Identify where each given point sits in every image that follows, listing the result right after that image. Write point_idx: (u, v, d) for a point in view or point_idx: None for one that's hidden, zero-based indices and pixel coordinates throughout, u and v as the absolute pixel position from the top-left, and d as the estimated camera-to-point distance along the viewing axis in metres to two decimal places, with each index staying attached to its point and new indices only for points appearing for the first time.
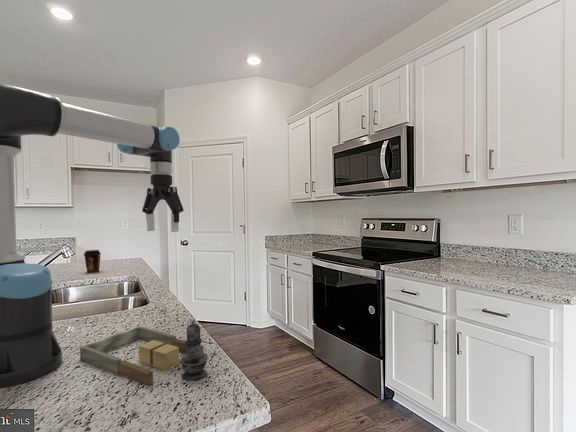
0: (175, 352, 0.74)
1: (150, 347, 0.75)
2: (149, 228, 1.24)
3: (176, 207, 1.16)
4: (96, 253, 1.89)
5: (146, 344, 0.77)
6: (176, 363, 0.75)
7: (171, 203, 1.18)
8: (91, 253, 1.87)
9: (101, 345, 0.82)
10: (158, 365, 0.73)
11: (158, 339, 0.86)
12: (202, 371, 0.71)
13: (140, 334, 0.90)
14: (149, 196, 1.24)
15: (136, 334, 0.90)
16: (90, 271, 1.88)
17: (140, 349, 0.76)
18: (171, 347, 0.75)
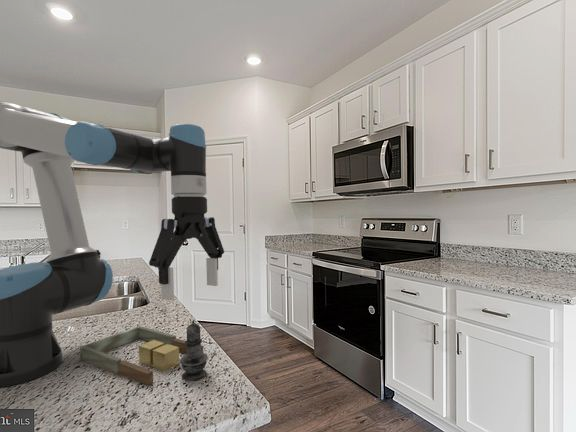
0: (175, 352, 0.74)
1: (150, 347, 0.75)
2: (208, 281, 0.78)
3: None
4: None
5: (146, 344, 0.77)
6: (176, 363, 0.75)
7: (167, 248, 0.67)
8: None
9: (101, 345, 0.82)
10: (158, 365, 0.73)
11: (158, 339, 0.86)
12: (202, 371, 0.71)
13: (140, 334, 0.90)
14: (206, 230, 0.78)
15: (136, 334, 0.90)
16: None
17: (140, 349, 0.76)
18: (171, 347, 0.75)
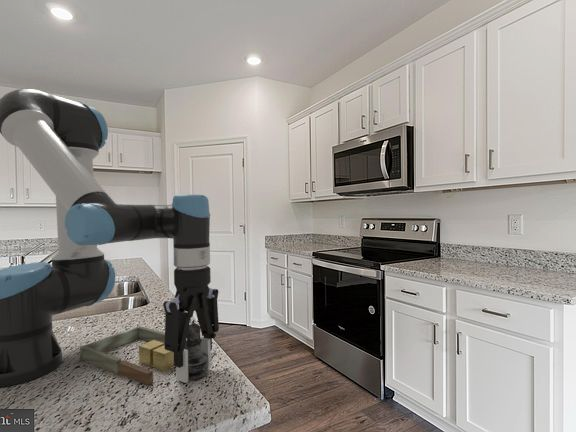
0: None
1: (150, 347, 0.75)
2: None
3: None
4: None
5: (146, 344, 0.77)
6: None
7: (177, 329, 0.67)
8: None
9: (101, 345, 0.82)
10: (158, 365, 0.73)
11: (158, 339, 0.86)
12: (202, 371, 0.71)
13: (140, 334, 0.90)
14: (207, 302, 0.75)
15: (136, 334, 0.90)
16: None
17: (140, 349, 0.76)
18: None
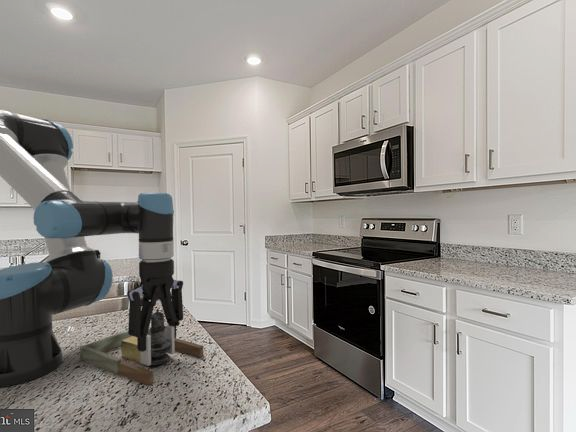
0: None
1: (132, 341, 0.79)
2: None
3: None
4: (96, 253, 1.89)
5: (128, 339, 0.80)
6: None
7: (141, 316, 0.73)
8: None
9: (101, 345, 0.82)
10: (137, 357, 0.77)
11: None
12: (166, 356, 0.77)
13: None
14: (172, 292, 0.80)
15: None
16: None
17: (122, 343, 0.79)
18: None
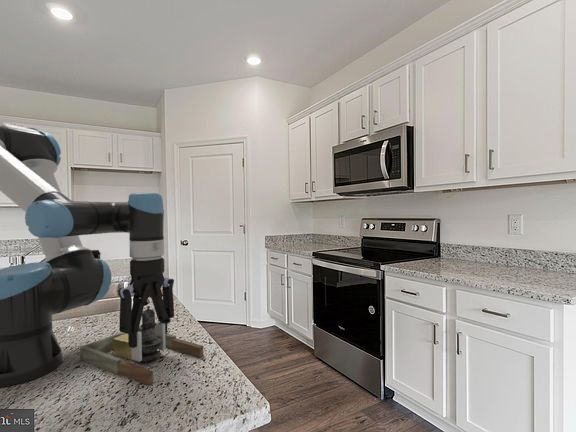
0: None
1: (123, 339, 0.80)
2: None
3: None
4: (96, 253, 1.89)
5: (120, 337, 0.81)
6: None
7: (132, 313, 0.74)
8: None
9: (101, 345, 0.82)
10: (128, 354, 0.78)
11: None
12: (156, 352, 0.78)
13: None
14: (163, 290, 0.82)
15: None
16: None
17: (114, 341, 0.81)
18: None
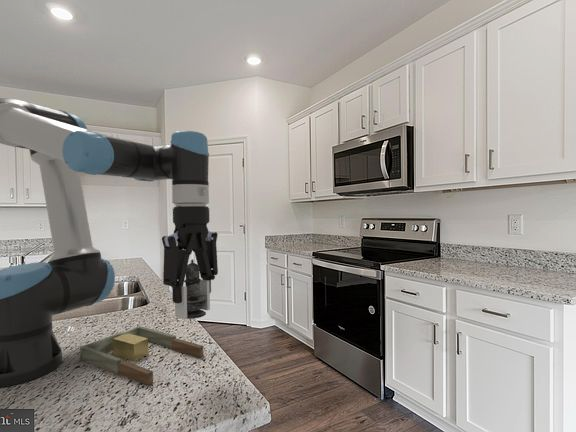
0: (144, 343, 0.80)
1: (123, 339, 0.80)
2: None
3: None
4: None
5: (120, 337, 0.82)
6: (145, 353, 0.80)
7: (176, 265, 0.67)
8: None
9: (101, 345, 0.82)
10: (128, 355, 0.78)
11: (158, 339, 0.86)
12: (201, 311, 0.70)
13: (140, 334, 0.90)
14: (206, 245, 0.74)
15: (136, 334, 0.90)
16: None
17: (114, 341, 0.81)
18: (141, 338, 0.81)
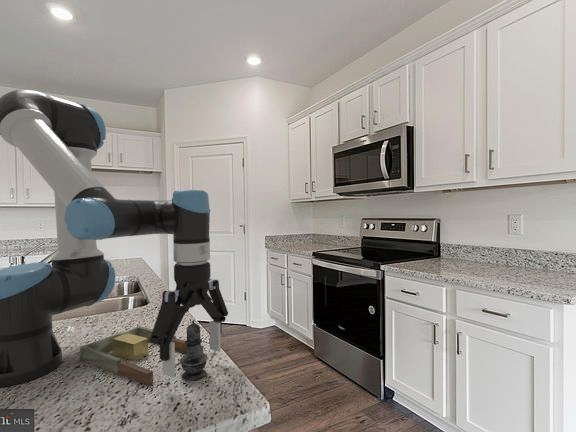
0: (144, 343, 0.80)
1: (123, 339, 0.80)
2: (211, 345, 0.76)
3: None
4: None
5: (120, 337, 0.82)
6: (145, 353, 0.80)
7: (169, 321, 0.65)
8: None
9: (101, 345, 0.82)
10: (128, 355, 0.78)
11: None
12: (202, 371, 0.71)
13: (140, 334, 0.90)
14: (210, 292, 0.75)
15: (136, 334, 0.90)
16: None
17: (113, 341, 0.81)
18: (141, 338, 0.81)
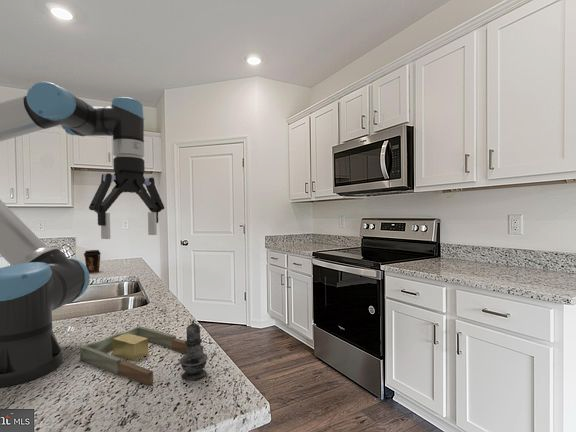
0: (144, 343, 0.80)
1: (123, 339, 0.80)
2: (149, 231, 0.94)
3: None
4: (96, 253, 1.89)
5: (120, 337, 0.82)
6: (145, 353, 0.80)
7: (107, 198, 0.83)
8: (91, 253, 1.87)
9: (101, 345, 0.82)
10: (128, 355, 0.78)
11: (158, 339, 0.86)
12: (202, 371, 0.71)
13: (140, 334, 0.90)
14: (148, 188, 0.93)
15: (136, 334, 0.90)
16: (90, 271, 1.88)
17: (113, 341, 0.81)
18: (141, 338, 0.81)
